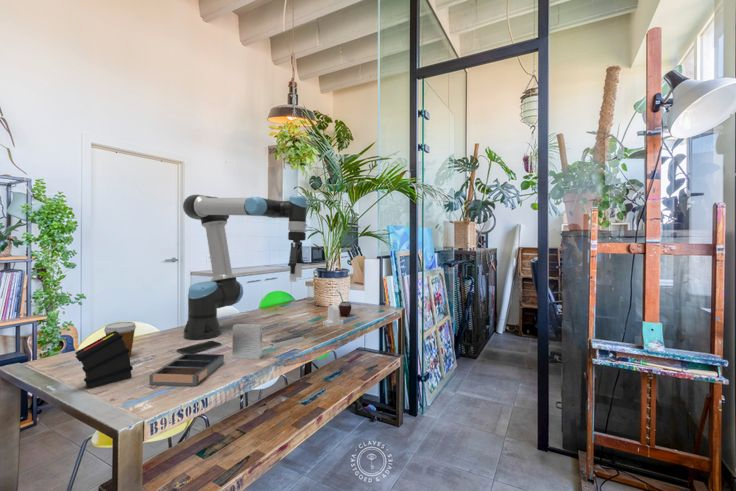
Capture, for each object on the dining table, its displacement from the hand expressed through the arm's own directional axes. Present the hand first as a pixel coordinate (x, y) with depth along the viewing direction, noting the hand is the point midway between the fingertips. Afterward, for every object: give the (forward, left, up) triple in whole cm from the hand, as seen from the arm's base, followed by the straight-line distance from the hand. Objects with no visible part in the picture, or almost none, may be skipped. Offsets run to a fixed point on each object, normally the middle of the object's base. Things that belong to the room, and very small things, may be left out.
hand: (295, 279), depth 152 cm
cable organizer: (+14, +26, -27) cm, 40 cm away
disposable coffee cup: (-57, -29, -27) cm, 69 cm away
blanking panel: (-12, -25, -26) cm, 38 cm away
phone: (-34, -17, -27) cm, 47 cm away
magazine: (-46, -50, -27) cm, 73 cm away
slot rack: (-25, -41, -26) cm, 55 cm away
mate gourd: (+18, +45, -27) cm, 55 cm away
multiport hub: (-2, -7, -27) cm, 28 cm away
